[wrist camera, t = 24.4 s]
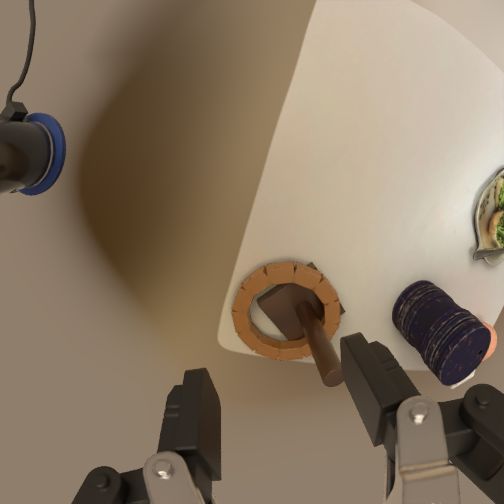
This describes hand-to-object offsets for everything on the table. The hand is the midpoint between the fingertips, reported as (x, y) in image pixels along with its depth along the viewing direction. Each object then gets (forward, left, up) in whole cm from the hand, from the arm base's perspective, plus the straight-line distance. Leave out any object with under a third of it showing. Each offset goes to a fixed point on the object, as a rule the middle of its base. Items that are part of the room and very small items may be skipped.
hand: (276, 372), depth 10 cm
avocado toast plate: (+27, +39, -27) cm, 55 cm away
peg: (+15, -1, -27) cm, 31 cm away
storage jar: (+29, +14, -27) cm, 42 cm away
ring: (+14, -3, -26) cm, 30 cm away
